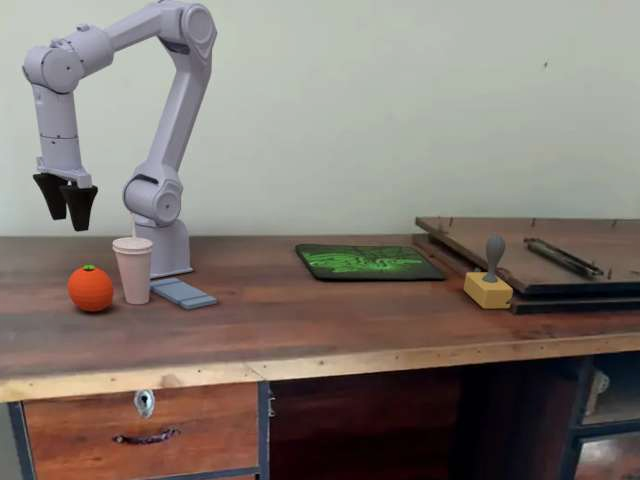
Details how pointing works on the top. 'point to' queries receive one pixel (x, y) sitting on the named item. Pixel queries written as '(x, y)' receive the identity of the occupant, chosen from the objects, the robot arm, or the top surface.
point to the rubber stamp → (489, 279)
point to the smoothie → (134, 265)
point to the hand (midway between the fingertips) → (70, 224)
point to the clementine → (90, 288)
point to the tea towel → (182, 293)
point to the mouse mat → (367, 262)
